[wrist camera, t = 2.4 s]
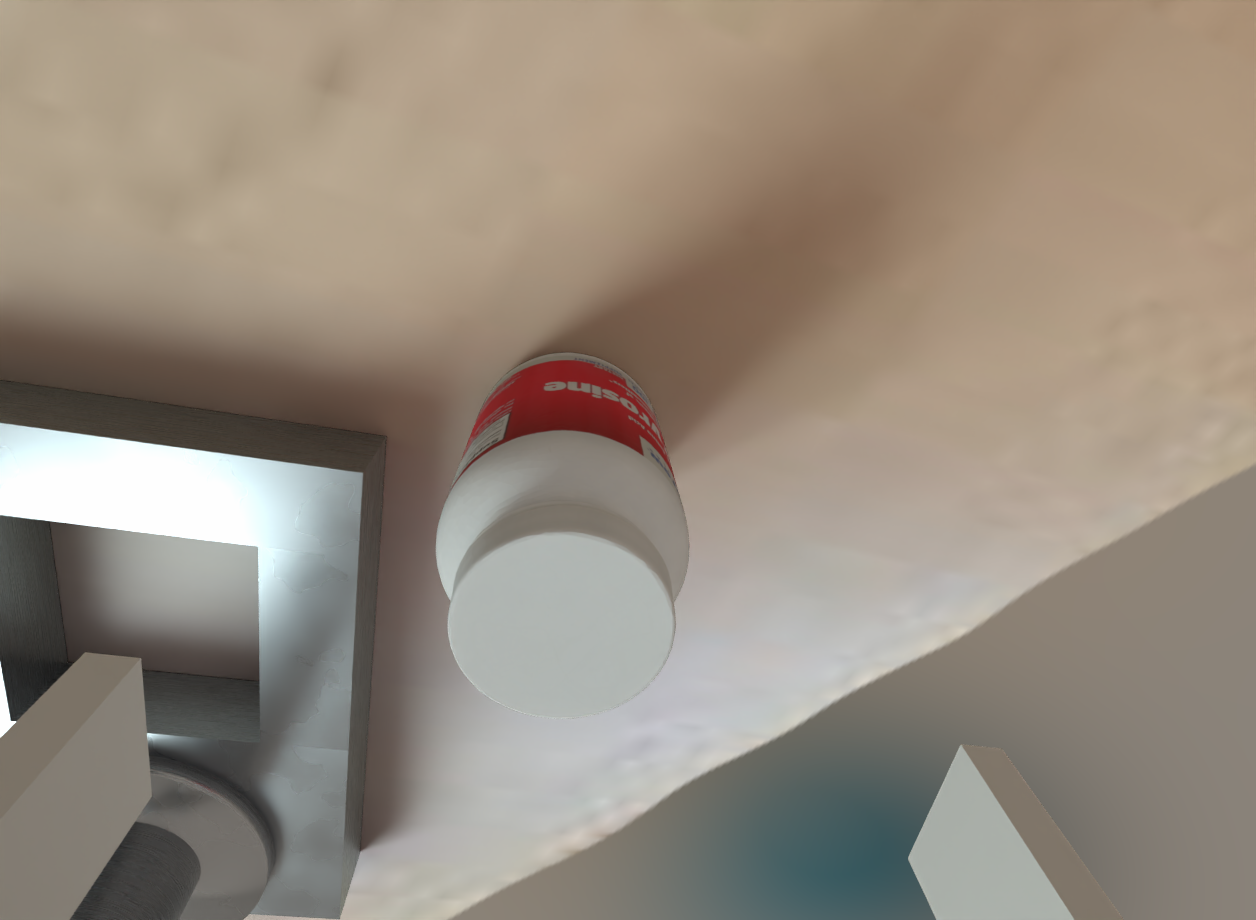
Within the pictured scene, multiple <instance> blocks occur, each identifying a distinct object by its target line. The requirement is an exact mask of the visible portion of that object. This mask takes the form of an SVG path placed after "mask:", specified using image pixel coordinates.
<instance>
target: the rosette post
mask: <svg viewBox="0 0 1256 920" xmlns="http://www.w3.org/2000/svg"><path fill="white" fill-rule="evenodd" d="M386 440H387V436H381V435H374V434H368V433H361V432H354V431H347V430H340V429H333V428H326V427H319V426H312V425H306V424H299V423H292V422H285V421H278V420H271V419H264V418H257V417H250V416H244V415H237V414H230V413H223V412H216V411H209V410H202V409H195V408H188V407H182V406H175V405H168V404H161V403H154V402H147V401H140V400H133V399H126V398H120V397H113V396H106V395H99V394H92V393H85V392H78V391H71V390H64V389H57V388H51V387H44V386H37V385H30V384H23V383H16V382H9V381H2V380H0V737H1V736H2V735H3V734H4V733H5V732H6V731H7V730H8V729H9V728H10V727H11V726H12V725H13V724H14V723H15V722H16V721H17V720H18V719H19V718H20V717H21V716H22V715H23V714H24V713H25V712H26V711H27V710H28V709H29V708H30V707H31V706H32V705H33V704H34V703H35V702H36V701H37V700H38V699H39V698H40V697H41V696H42V695H43V694H44V693H45V692H46V691H47V690H48V689H49V688H50V687H51V686H52V685H53V684H54V683H55V682H56V681H57V680H58V679H59V678H60V677H61V676H62V675H63V674H64V673H65V672H66V671H67V670H68V669H69V668H70V667H71V666H72V665H73V664H74V663H68V660H67V652H66V645H65V637H64V630H63V623H62V615H61V608H60V600H59V593H58V585H57V578H56V570H55V563H54V556H53V548H52V541H51V533H50V526H49V521H54V522H62V523H70V524H78V525H86V526H94V527H103V528H111V529H119V530H127V531H135V532H143V533H152V534H160V535H168V536H176V537H184V538H193V539H201V540H209V541H217V542H225V543H233V544H242V545H250V546H258V567H259V675H260V682H257V681H247V680H236V679H226V678H216V677H206V676H196V675H186V674H175V673H165V672H155V671H145V670H142V676H143V689H144V701H145V714H146V726H147V739H148V751H149V764H150V777H151V789H152V797H151V798H150V800H149V801H148V803H147V804H146V806H145V807H144V809H143V810H142V812H141V813H140V815H139V816H138V818H137V819H136V821H135V822H134V824H133V825H132V827H131V828H130V830H129V831H128V833H127V834H126V836H125V837H124V839H123V840H122V842H121V843H120V845H119V846H118V848H117V849H116V851H115V852H114V854H113V855H112V857H111V858H110V860H109V861H108V863H107V864H106V866H105V867H104V869H103V870H102V872H101V873H100V875H99V876H98V878H97V879H96V881H95V882H94V884H93V885H92V887H91V888H90V890H89V891H88V893H87V894H86V896H85V897H84V899H83V900H82V902H81V903H80V905H79V906H78V908H77V909H76V911H75V912H74V914H73V915H72V917H71V918H70V920H243V919H244V918H245V917H247V916H248V915H249V914H258V915H275V916H293V917H310V918H328V919H340V916H341V913H342V910H343V907H344V903H345V900H346V897H347V894H348V890H349V887H350V884H351V880H352V877H353V874H354V871H355V867H356V864H357V861H358V858H359V854H360V844H361V829H362V813H363V797H364V782H365V766H366V751H367V735H368V720H369V704H370V689H371V673H372V657H373V642H374V626H375V611H376V595H377V580H378V564H379V549H380V533H381V517H382V502H383V486H384V471H385V455H386Z"/></svg>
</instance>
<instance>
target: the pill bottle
mask: <svg viewBox="0 0 1256 920" xmlns="http://www.w3.org/2000/svg"><path fill="white" fill-rule="evenodd" d="M436 558H437V567H438V571H439V575H440V579H441V582H442V585H443V588H444V590H445V592H446V594H447V596H448V598H449V599H450V601H451V602H450V607H449V612H448V636H449V642H450V646H451V649H452V652H453V655H454V657H455V660H456V661H457V663H458V665H459V667H460V669H461V670H462V672H463V673H464V675H465V676H466V677H467V678H468V680H469V681H470V682H471V683H472V684H473V685H474V686H475V687H476V688H477V689H478V690H479V691H480V692H481V693H483V694H484V695H485V696H487V697H488V698H490V699H491V700H493V701H495V702H496V703H498V704H501V705H503V706H505V707H507V708H509V709H512V710H514V711H517V712H520V713H523V714H526V715H531V716H537V717H544V718H553V719H574V718H580V717H586V716H591V715H595V714H599V713H602V712H606V711H608V710H611V709H613V708H616V707H618V706H620V705H621V704H623V703H625V702H627V701H629V700H631V699H632V698H633V697H635V696H636V695H638V694H639V693H640V692H642V691H643V690H644V689H645V688H646V687H647V686H648V685H649V684H650V683H651V682H652V681H653V680H654V679H655V678H656V676H657V675H658V674H659V672H660V671H661V669H662V668H663V666H664V664H665V663H666V661H667V658H668V656H669V653H670V651H671V648H672V645H673V641H674V635H675V627H676V619H675V609H674V602H675V600H676V598H677V596H678V594H679V592H680V590H681V587H682V585H683V582H684V579H685V575H686V572H687V566H688V560H689V535H688V528H687V522H686V518H685V513H684V509H683V506H682V502H681V499H680V496H679V492H678V489H677V485H676V482H675V478H674V474H673V471H672V467H671V464H670V460H669V457H668V453H667V450H666V447H665V444H664V440H663V437H662V433H661V430H660V427H659V423H658V420H657V417H656V415H655V412H654V409H653V407H652V405H651V403H650V401H649V399H648V398H647V396H646V394H645V393H644V391H643V390H642V389H641V387H640V386H639V385H638V384H637V383H636V382H635V381H634V380H633V379H632V378H631V377H630V376H629V375H627V374H626V373H625V372H624V371H622V370H621V369H619V368H618V367H616V366H615V365H613V364H611V363H609V362H607V361H604V360H602V359H599V358H597V357H594V356H589V355H585V354H579V353H553V354H548V355H544V356H540V357H537V358H534V359H531V360H529V361H526V362H525V363H523V364H521V365H519V366H517V367H516V368H514V369H513V370H511V371H510V372H509V373H507V374H506V375H505V376H504V377H503V378H502V379H501V380H500V381H499V382H498V383H497V384H496V385H495V386H494V388H493V389H492V390H491V392H490V393H489V395H488V396H487V398H486V400H485V402H484V404H483V406H482V408H481V410H480V412H479V415H478V418H477V420H476V423H475V425H474V428H473V430H472V433H471V436H470V438H469V441H468V443H467V446H466V449H465V451H464V454H463V457H462V459H461V462H460V464H459V467H458V470H457V473H456V475H455V478H454V481H453V483H452V486H451V488H450V491H449V494H448V496H447V499H446V501H445V504H444V507H443V510H442V514H441V517H440V521H439V524H438V529H437V537H436Z"/></svg>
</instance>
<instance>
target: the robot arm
mask: <svg viewBox="0 0 1256 920" xmlns="http://www.w3.org/2000/svg"><path fill="white" fill-rule="evenodd" d="M151 797H152V789H151V777H150V764H149V751H148V739H147V726H146V714H145V701H144V689H143V676H142V664H141V658H135V657H125V656H116V655H106V654H97V653H87V652H85V653H84V654H83V655H82V656H81V657H80V658H79V659H78V660H77V661H76V662H75V663H74V664H73V665H72V666H71V667H70V668H69V669H68V670H67V671H66V672H65V673H64V674H63V675H62V676H61V677H60V678H59V679H58V680H57V681H56V682H55V683H54V684H53V685H52V686H51V687H50V688H49V689H48V690H47V691H46V692H45V693H44V694H43V695H42V696H41V697H40V698H39V699H38V700H37V701H36V702H35V703H34V704H33V705H32V706H31V707H30V708H29V709H28V710H27V711H26V712H25V713H24V714H23V715H22V716H21V717H20V718H19V719H18V720H17V721H16V722H15V723H14V724H13V725H12V726H11V727H10V728H9V729H8V730H7V731H6V732H5V733H4V734H3V735H2V736H1V737H0V920H70V918H71V917H72V915H73V914H74V912H75V911H76V909H77V908H78V906H79V905H80V903H81V902H82V900H83V899H84V897H85V896H86V894H87V893H88V891H89V890H90V888H91V887H92V885H93V884H94V882H95V881H96V879H97V878H98V876H99V875H100V873H101V872H102V870H103V869H104V867H105V866H106V864H107V863H108V861H109V860H110V858H111V857H112V855H113V854H114V852H115V851H116V849H117V848H118V846H119V845H120V843H121V842H122V840H123V839H124V837H125V836H126V834H127V833H128V831H129V830H130V828H131V827H132V825H133V824H134V822H135V821H136V819H137V818H138V816H139V815H140V813H141V812H142V810H143V809H144V807H145V806H146V804H147V803H148V801H149V800H150V798H151ZM908 860H909V862H910V864H911V866H912V868H913V870H914V873H915V875H916V877H917V879H918V881H919V883H920V885H921V887H922V890H923V892H924V894H925V896H926V898H927V900H928V902H929V904H930V907H931V909H932V911H933V913H934V915H935V917H936V920H1124V919H1123V918H1122V917H1121V915H1120V914H1119V912H1118V911H1117V910H1116V908H1115V907H1114V905H1113V904H1112V903H1111V901H1110V900H1109V898H1108V897H1107V895H1106V894H1105V893H1104V892H1103V890H1102V889H1101V887H1100V886H1099V885H1098V883H1097V881H1096V880H1095V879H1094V877H1093V876H1092V874H1091V873H1090V872H1089V870H1088V869H1087V867H1086V866H1085V865H1084V863H1083V862H1082V860H1081V859H1080V858H1079V857H1078V855H1077V853H1076V852H1075V851H1074V849H1073V848H1072V846H1071V845H1070V844H1069V842H1068V841H1067V839H1066V838H1065V837H1064V835H1063V834H1062V833H1061V831H1060V830H1059V828H1058V827H1057V825H1056V824H1055V823H1054V821H1053V820H1052V818H1051V817H1050V816H1049V814H1048V813H1047V811H1046V810H1045V809H1044V807H1043V806H1042V804H1041V803H1040V802H1039V800H1038V799H1037V797H1036V796H1035V794H1034V793H1033V792H1032V790H1031V789H1030V787H1029V786H1028V785H1027V783H1026V782H1025V781H1024V779H1023V778H1022V776H1021V775H1020V773H1019V772H1018V771H1017V769H1016V768H1015V766H1014V765H1013V764H1012V762H1011V761H1010V759H1009V758H1008V757H1007V755H1006V754H1005V753H1004V751H1003V750H1002V749H1000V748H990V747H981V746H971V745H961V746H960V747H959V750H958V752H957V754H956V756H955V758H954V760H953V762H952V765H951V767H950V769H949V771H948V774H947V776H946V778H945V780H944V782H943V784H942V786H941V788H940V790H939V793H938V795H937V797H936V799H935V801H934V803H933V806H932V808H931V810H930V812H929V814H928V816H927V818H926V821H925V823H924V825H923V827H922V829H921V831H920V834H919V836H918V838H917V840H916V842H915V844H914V846H913V849H912V851H911V853H910V855H909V857H908Z"/></svg>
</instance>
